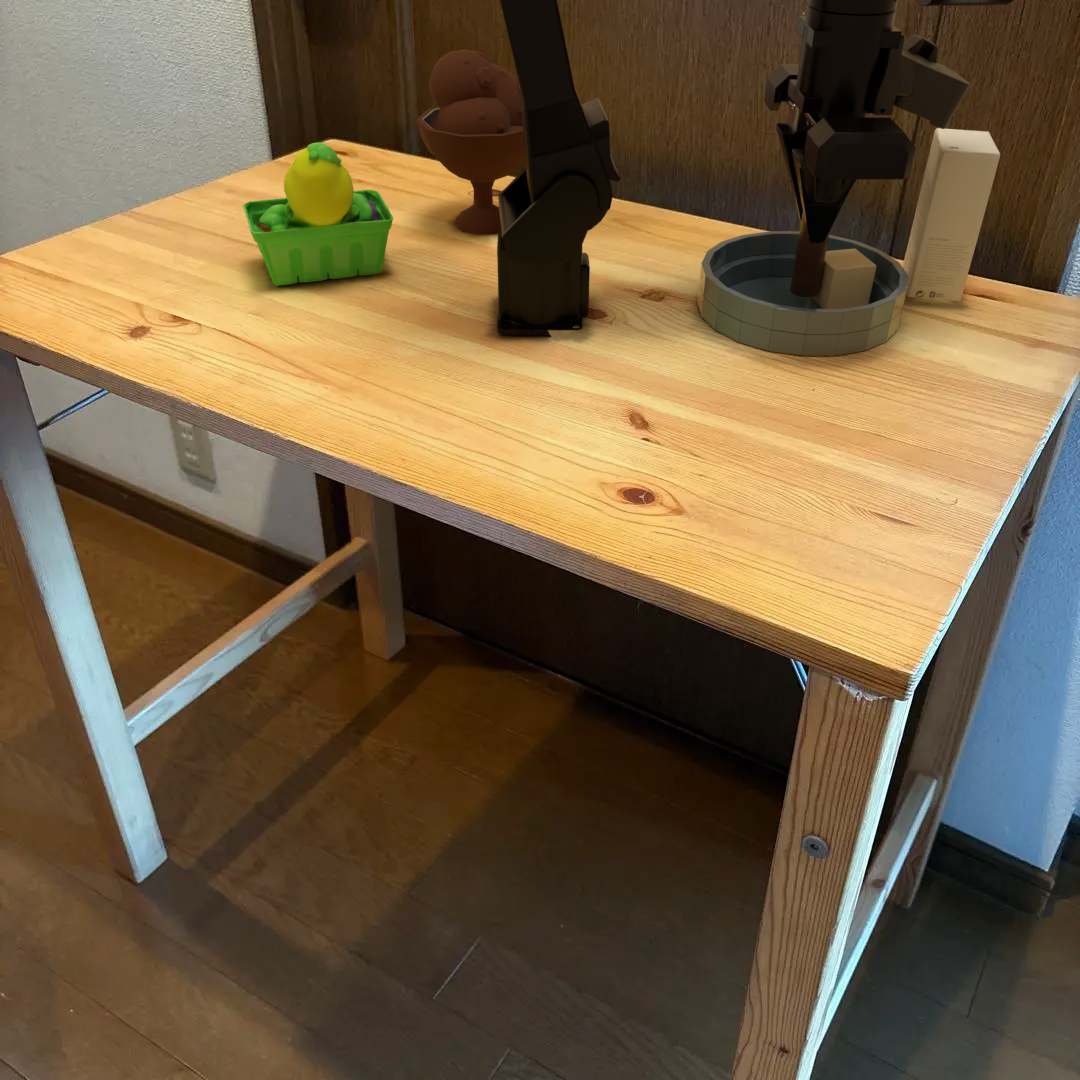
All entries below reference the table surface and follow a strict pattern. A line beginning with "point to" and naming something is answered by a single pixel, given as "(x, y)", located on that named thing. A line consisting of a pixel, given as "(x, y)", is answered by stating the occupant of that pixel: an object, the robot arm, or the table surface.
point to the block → (845, 280)
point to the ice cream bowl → (475, 129)
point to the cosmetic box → (949, 213)
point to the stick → (807, 264)
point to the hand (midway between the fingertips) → (812, 235)
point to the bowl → (793, 298)
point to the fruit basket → (320, 223)
